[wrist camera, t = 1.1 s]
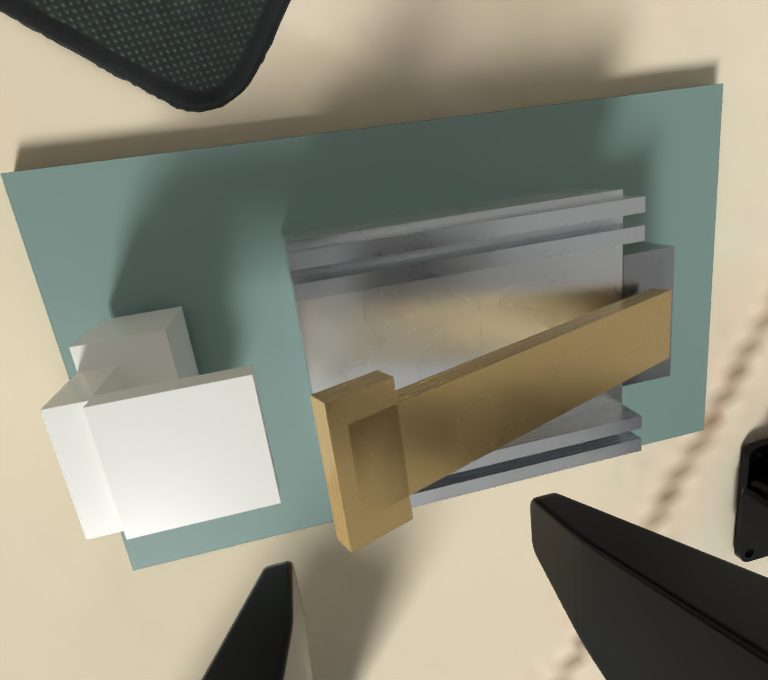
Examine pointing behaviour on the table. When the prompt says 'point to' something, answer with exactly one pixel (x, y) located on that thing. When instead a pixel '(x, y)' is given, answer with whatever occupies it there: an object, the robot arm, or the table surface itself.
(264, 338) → the board
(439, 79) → the table surface
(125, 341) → the clip
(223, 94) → the mouse mat
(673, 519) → the table surface
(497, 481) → the heatsink
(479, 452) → the tan flat bar
